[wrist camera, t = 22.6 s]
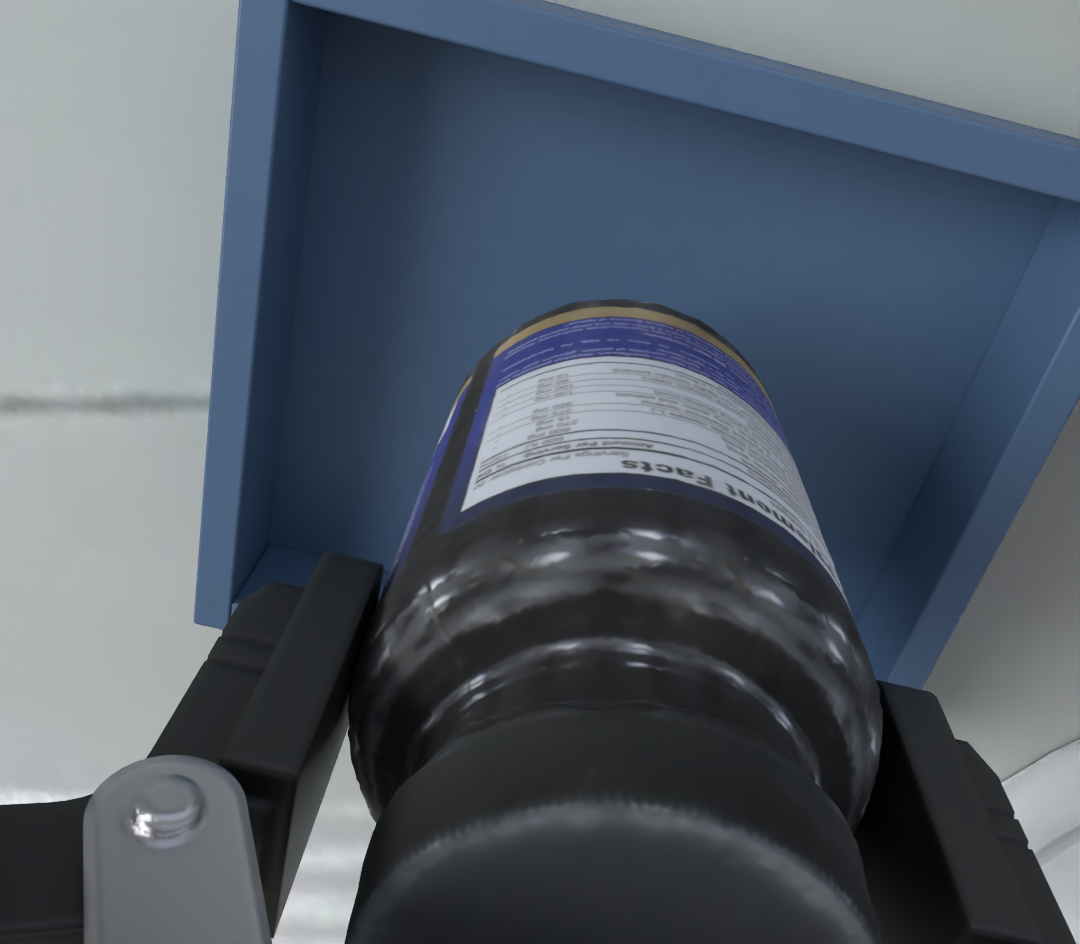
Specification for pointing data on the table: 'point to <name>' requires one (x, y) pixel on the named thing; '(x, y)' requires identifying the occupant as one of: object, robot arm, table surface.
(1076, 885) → the round ceiling alarm
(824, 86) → the blue tray
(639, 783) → the pill bottle
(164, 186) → the table surface
